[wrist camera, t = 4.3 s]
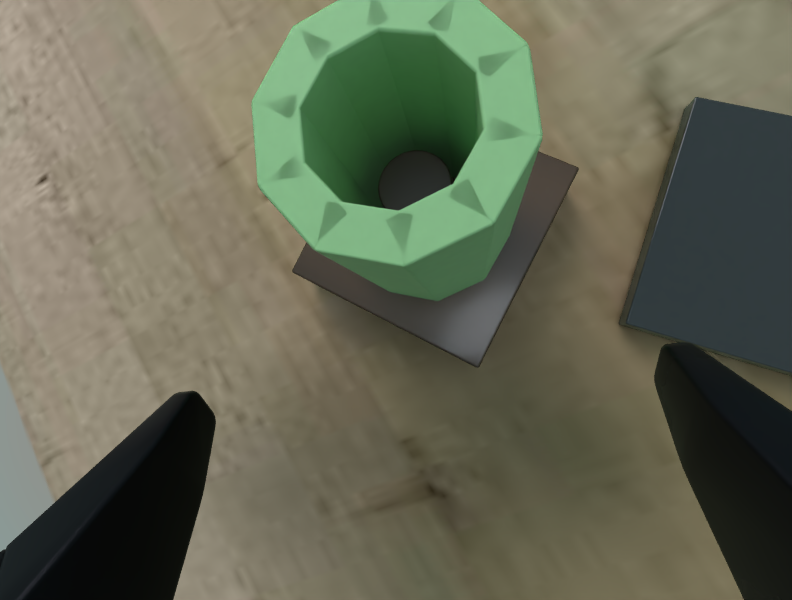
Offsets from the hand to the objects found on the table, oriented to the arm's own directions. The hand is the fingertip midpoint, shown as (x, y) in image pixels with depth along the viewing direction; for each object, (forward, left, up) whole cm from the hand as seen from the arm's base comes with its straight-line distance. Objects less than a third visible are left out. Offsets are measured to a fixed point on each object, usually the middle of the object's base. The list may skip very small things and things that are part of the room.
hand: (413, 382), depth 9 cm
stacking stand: (+5, +3, -12) cm, 13 cm away
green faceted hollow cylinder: (+5, +3, -10) cm, 11 cm away
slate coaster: (+10, -10, -12) cm, 19 cm away
